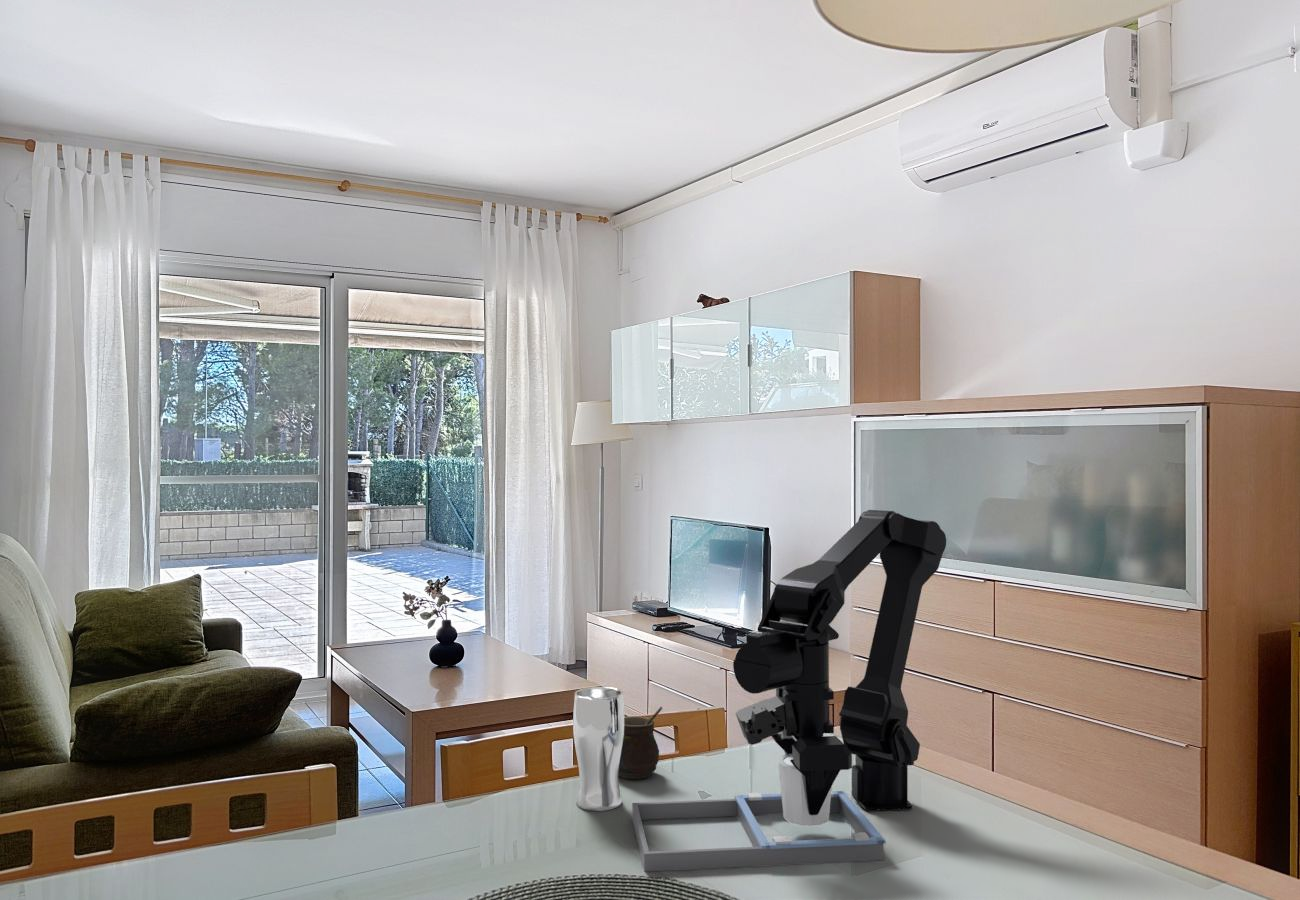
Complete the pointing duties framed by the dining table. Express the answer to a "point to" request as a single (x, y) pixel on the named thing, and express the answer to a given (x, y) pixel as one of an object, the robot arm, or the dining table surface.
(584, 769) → the beer glass
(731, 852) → the two-slot open tray
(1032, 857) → the dining table surface
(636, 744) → the mate gourd
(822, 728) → the robot arm
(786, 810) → the light grey cup
